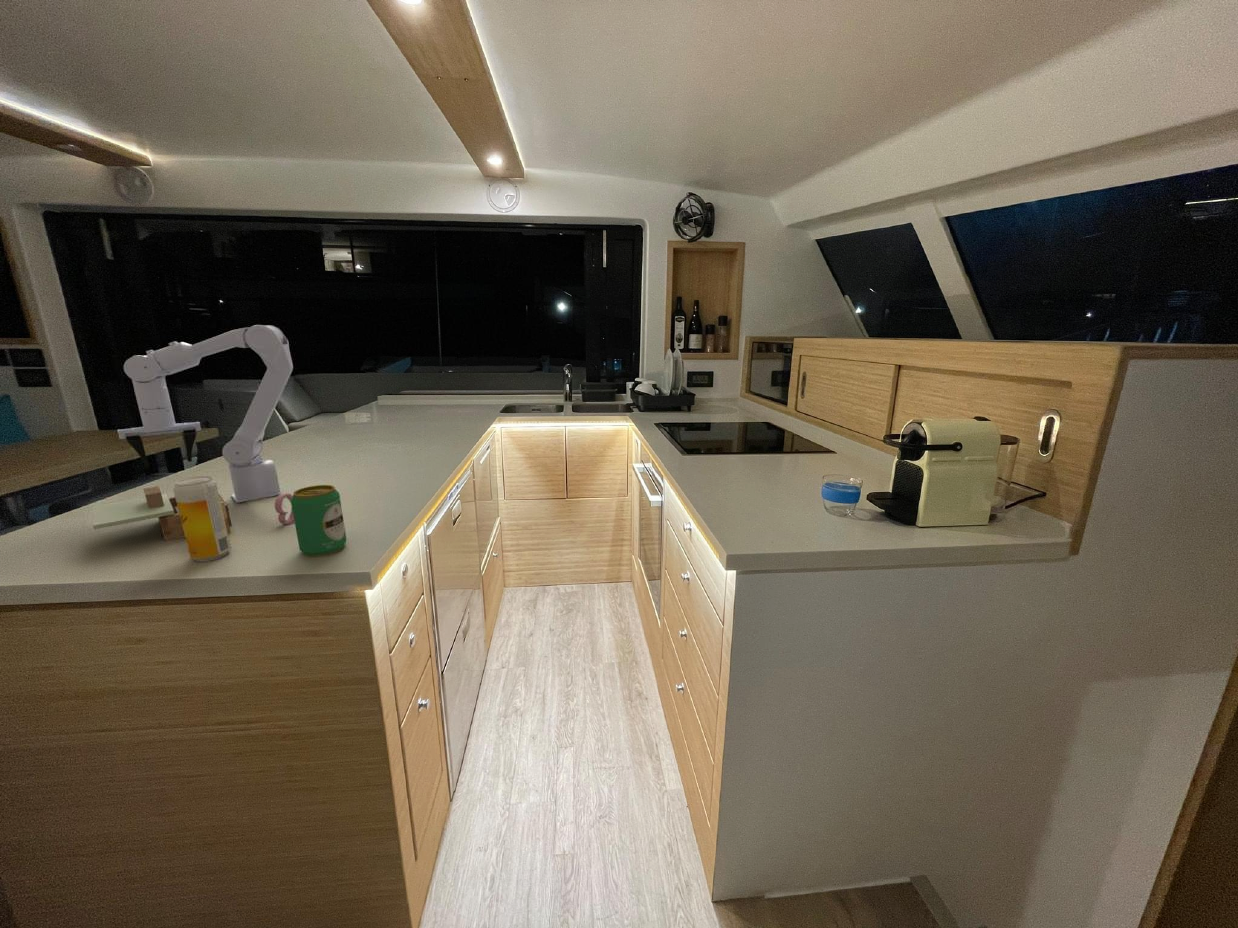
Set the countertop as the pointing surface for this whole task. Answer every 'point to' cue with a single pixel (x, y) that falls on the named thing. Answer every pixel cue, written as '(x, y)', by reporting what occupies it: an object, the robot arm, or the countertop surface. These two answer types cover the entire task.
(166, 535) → the wooden box
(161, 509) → the lid
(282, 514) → the decorative key
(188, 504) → the beer can
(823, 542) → the countertop surface
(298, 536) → the beverage can
